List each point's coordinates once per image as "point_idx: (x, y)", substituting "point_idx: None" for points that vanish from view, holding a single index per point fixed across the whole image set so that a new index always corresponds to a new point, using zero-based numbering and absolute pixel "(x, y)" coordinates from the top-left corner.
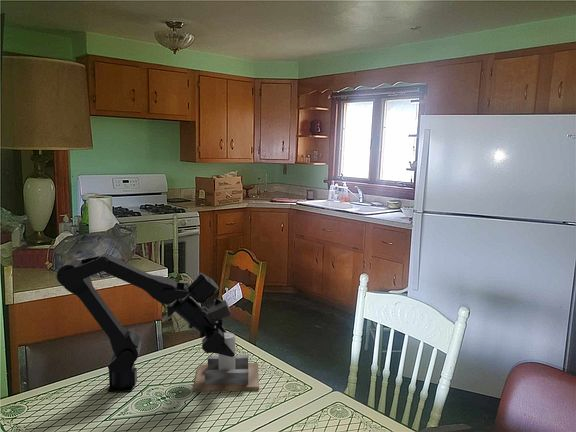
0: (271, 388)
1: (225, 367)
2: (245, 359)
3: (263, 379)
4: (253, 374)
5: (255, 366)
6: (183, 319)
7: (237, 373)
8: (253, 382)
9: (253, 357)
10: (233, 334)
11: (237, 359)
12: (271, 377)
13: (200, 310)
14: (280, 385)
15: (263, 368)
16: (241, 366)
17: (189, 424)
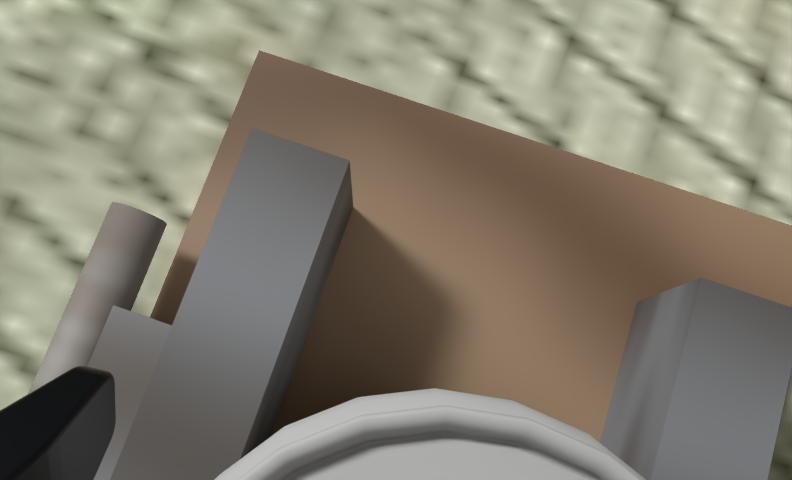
0: (784, 109)
1: None
2: (336, 206)
3: (576, 117)
4: (510, 194)
5: (325, 104)
6: None
7: (763, 471)
8: (696, 258)
9: (21, 36)
10: (384, 437)
11: (293, 321)
12: (562, 25)
13: None
14: (750, 5)
15: (334, 28)
16: (323, 280)
17: None
